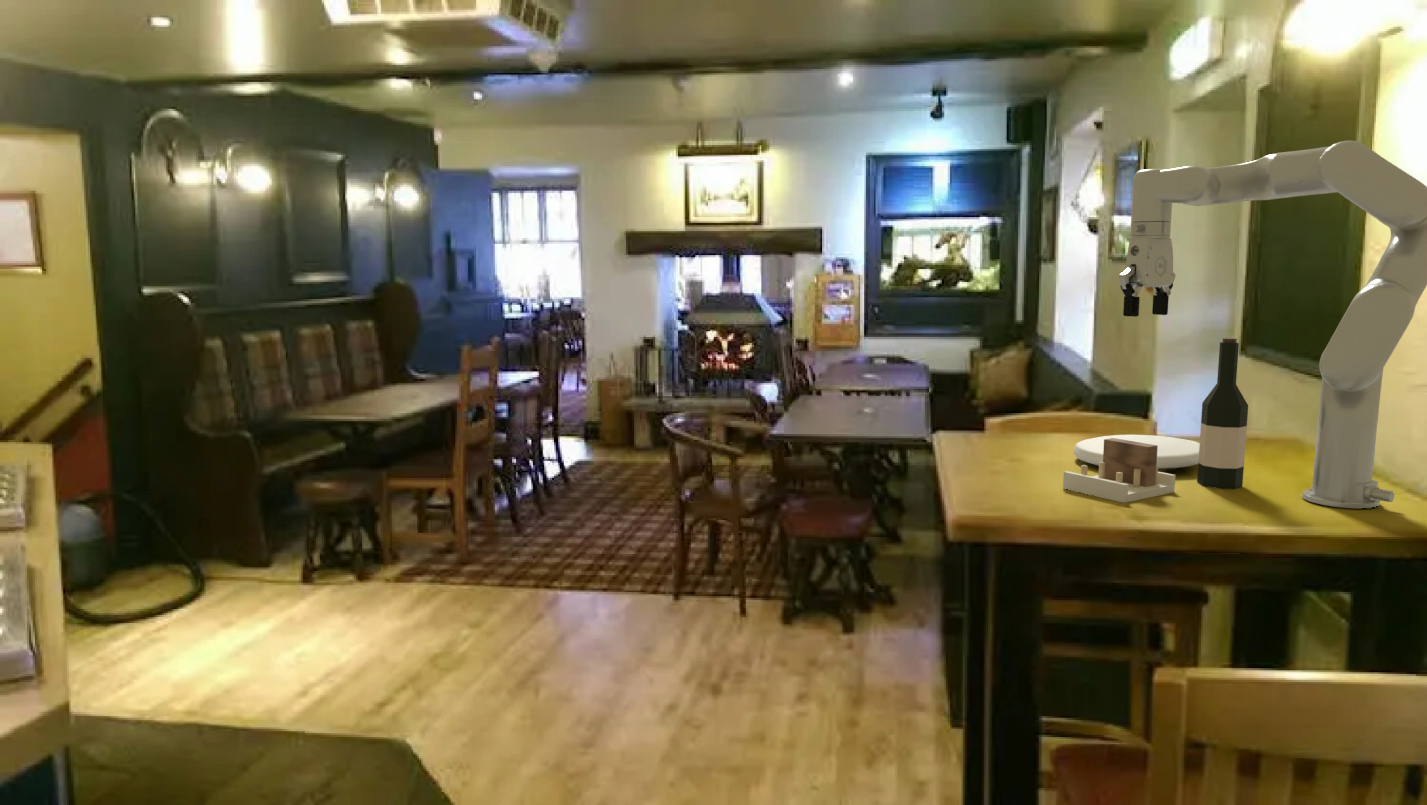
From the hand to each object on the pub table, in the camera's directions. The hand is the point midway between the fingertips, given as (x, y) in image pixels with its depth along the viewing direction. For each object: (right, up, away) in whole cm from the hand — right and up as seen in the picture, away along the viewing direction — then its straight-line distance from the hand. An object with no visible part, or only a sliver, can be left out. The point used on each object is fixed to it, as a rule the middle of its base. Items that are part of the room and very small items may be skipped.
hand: (1145, 315), depth 208 cm
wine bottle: (+15, -35, -1) cm, 38 cm away
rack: (-8, -36, -6) cm, 37 cm away
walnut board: (-6, -34, -5) cm, 35 cm away
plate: (+7, -32, +20) cm, 39 cm away
